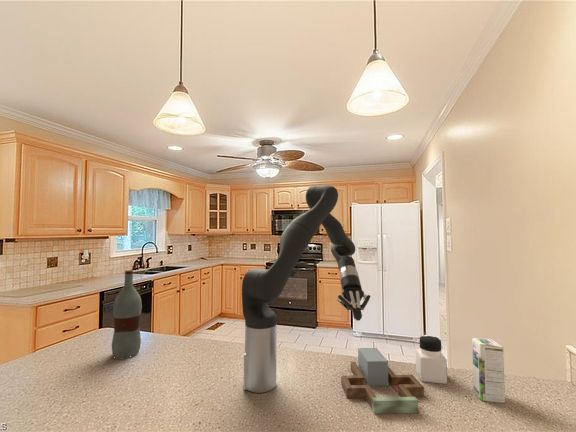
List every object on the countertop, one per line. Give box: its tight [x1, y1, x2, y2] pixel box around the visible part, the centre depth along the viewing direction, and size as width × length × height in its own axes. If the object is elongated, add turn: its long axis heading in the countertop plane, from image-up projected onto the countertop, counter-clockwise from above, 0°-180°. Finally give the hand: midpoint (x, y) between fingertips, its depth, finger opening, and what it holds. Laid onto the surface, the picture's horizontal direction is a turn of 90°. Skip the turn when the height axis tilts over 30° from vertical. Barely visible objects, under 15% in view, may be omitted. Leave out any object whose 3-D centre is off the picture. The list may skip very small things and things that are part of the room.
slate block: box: [357, 347, 389, 387], centre depth 90 cm, size 6×10×7 cm, turn 2°
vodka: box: [111, 269, 143, 359], centre depth 107 cm, size 9×9×30 cm
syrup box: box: [471, 337, 506, 404], centre depth 79 cm, size 6×6×14 cm
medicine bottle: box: [415, 334, 448, 385], centre depth 90 cm, size 7×7×12 cm
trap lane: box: [340, 361, 425, 415], centre depth 83 cm, size 21×23×3 cm
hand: (358, 319), depth 105 cm, fingers closed
